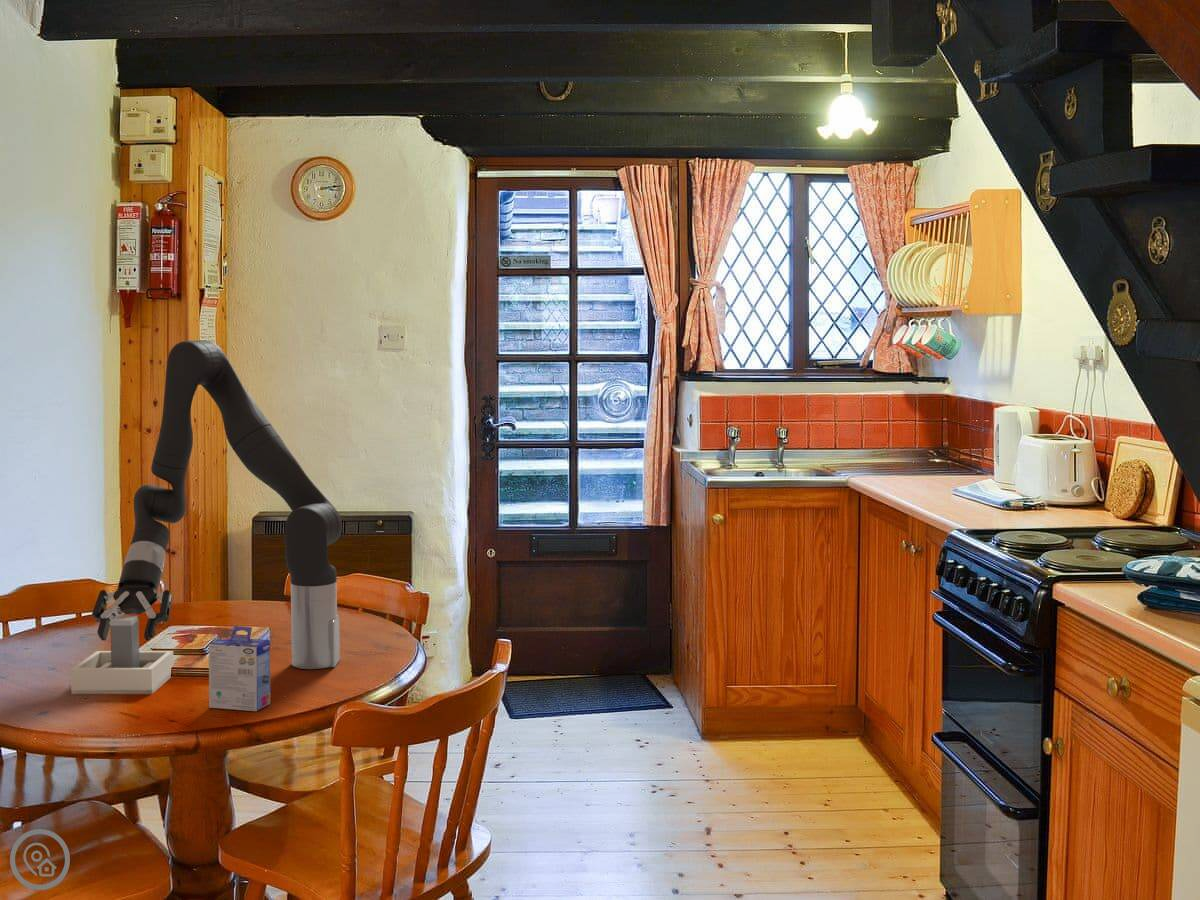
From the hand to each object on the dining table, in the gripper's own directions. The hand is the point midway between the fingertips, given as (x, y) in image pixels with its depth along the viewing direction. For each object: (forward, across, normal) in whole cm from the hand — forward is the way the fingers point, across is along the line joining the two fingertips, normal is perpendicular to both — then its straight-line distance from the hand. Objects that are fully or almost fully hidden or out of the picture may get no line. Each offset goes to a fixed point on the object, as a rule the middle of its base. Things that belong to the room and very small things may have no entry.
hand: (124, 638), depth 233 cm
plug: (+6, 0, +6) cm, 8 cm away
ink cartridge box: (+17, +26, -4) cm, 31 cm away
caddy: (+7, 0, +6) cm, 9 cm away
